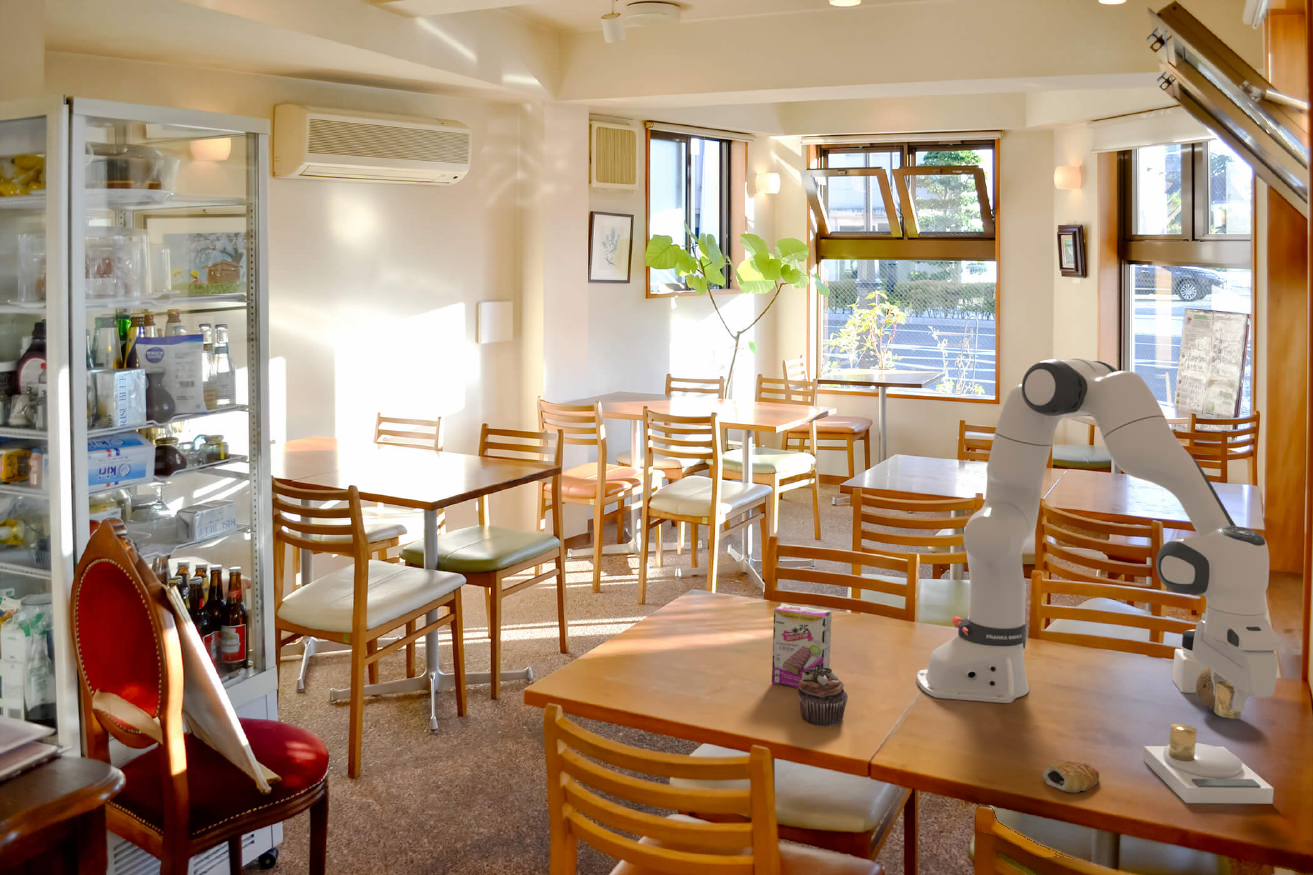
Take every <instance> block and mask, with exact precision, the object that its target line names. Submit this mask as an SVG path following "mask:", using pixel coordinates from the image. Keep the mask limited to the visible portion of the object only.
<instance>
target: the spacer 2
mask: <svg viewBox="0 0 1313 875" xmlns="http://www.w3.org/2000/svg"><path fill="white" fill-rule="evenodd" d="M1233 689H1234V685H1232V684H1231V683H1229V682H1228V681H1220V682H1217V687H1216V699H1215V711H1214V714H1216V715H1217V716H1220V717H1222V718H1226V719H1240V718H1241V717H1242V711H1234V710H1233V709H1232V708H1231V707H1230V706H1229V704H1230V698H1233V696H1234V694H1235V691H1234V690H1233Z"/></svg>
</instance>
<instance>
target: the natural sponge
mask: <svg viewBox="0 0 1313 875" xmlns="http://www.w3.org/2000/svg"><path fill="white" fill-rule="evenodd" d="M1210 673H1211V669H1209V668H1207V669H1205V670H1204V671H1203V672H1202V673H1201V674H1200V675H1199V677H1198V679H1197V682H1196V693H1195V694H1196V696H1197V697H1198V700H1199V701H1200V702H1202V703H1203V705H1206V706H1207V707H1209V708H1210V709H1212V711H1213V712H1215V699H1216V696H1214V695H1213V689H1214V686H1213V682H1212V679H1211V675H1210ZM1225 681H1227V680H1225Z"/></svg>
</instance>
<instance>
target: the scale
mask: <svg viewBox="0 0 1313 875" xmlns="http://www.w3.org/2000/svg"><path fill="white" fill-rule="evenodd" d="M1142 757H1143V758H1142V760H1143V762H1144V763H1145V764H1146V765H1147V766H1148V767H1149V768H1150V769H1151V770H1152V771H1153V772H1154V773H1155V774H1156V775H1157V776H1158V777H1160V779H1161V780H1162V781H1163V782H1165V784H1166V785H1167V786H1168V787H1169V788H1171V789H1172V791H1173V792H1174V793H1175V794H1176V795H1177V796H1178V797H1180V799H1181V800H1182V801H1183V802H1184V803H1185V804H1256V805H1257V804H1258V805H1259V804H1273V800H1274V787H1273V786H1271V784H1269V783H1268V782H1266V781H1265V780H1264V779H1263V778H1262V777H1261V776H1259V775H1258V774H1257V773H1256V772H1255V771H1253V769H1251V768H1249V767H1248V765H1246V764H1245V763H1244V762H1242V760H1241V759H1240V758H1239V757H1238V756H1237V755H1235V754H1234V753H1233V752H1230V750H1228V749H1227V748H1226V747H1225V746H1214V745H1210V744H1205V743H1200V742H1196V745H1195V758H1194V760H1193V761H1189V762H1186V761H1179V760H1176V759H1173V758H1171V757H1170V756H1169V744H1168V745H1165V746H1164V745H1163V746H1161V745H1160V746H1159V745H1158V746H1157V745H1155V746H1154V745H1144V746H1143V756H1142Z"/></svg>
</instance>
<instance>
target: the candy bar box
mask: <svg viewBox="0 0 1313 875" xmlns="http://www.w3.org/2000/svg"><path fill="white" fill-rule="evenodd" d="M831 629H832V610H828V609H822V608H821V609H820V608H815V607H809V606H802V605H795V604H787V603H779V605H777V607H775V608H774V609H773V637H772V639H773V640H772V641H773V642H772V664H771V665H772V666H771V667H772V669H771V671H772V672H771V684H772V685H777V686H784V687H788V688H794V689H798V687H799V682H800V680H801V679H802V674H803V672H804V671H805V670H812V669H814V668H815V667H816V665H820V666H821V667H822V668H829V669H830V664H831V662H830V660H831V659H830V657H831V634H832V633H831V632H832V630H831ZM823 670H824V669H823ZM824 671H826V670H824Z"/></svg>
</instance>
